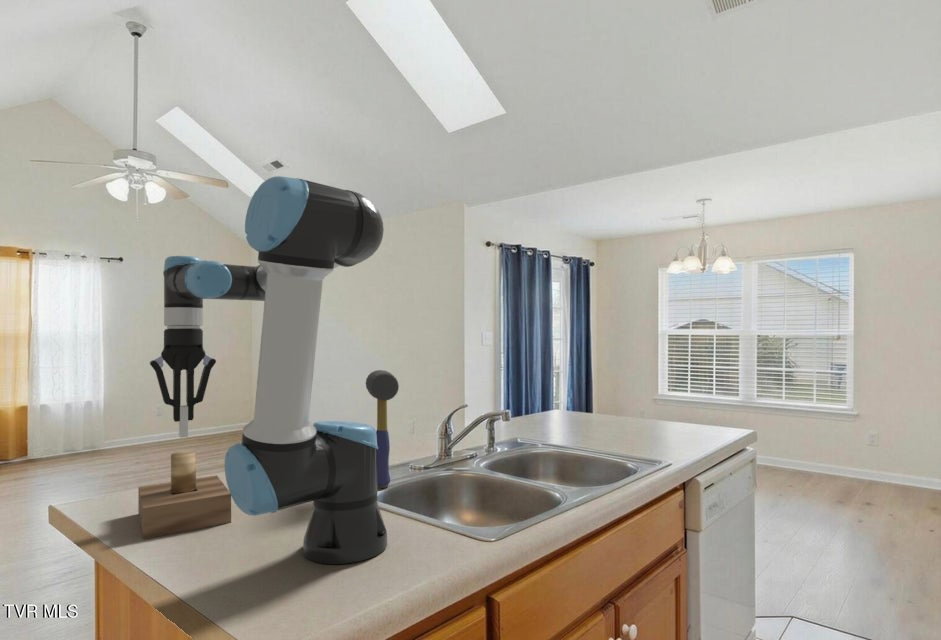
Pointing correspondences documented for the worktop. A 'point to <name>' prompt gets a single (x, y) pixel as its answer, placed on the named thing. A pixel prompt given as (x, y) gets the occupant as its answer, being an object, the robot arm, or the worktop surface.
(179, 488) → the peg
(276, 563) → the worktop surface
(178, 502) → the socket block
